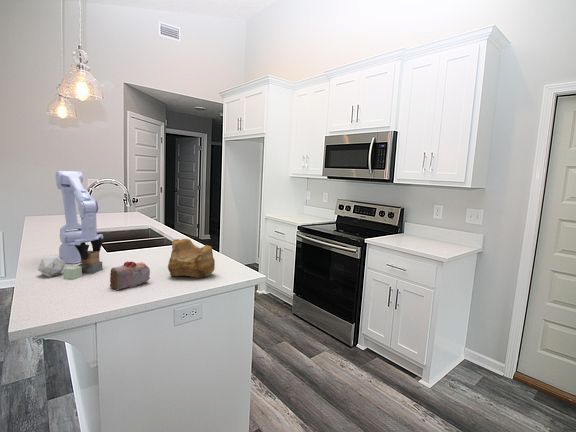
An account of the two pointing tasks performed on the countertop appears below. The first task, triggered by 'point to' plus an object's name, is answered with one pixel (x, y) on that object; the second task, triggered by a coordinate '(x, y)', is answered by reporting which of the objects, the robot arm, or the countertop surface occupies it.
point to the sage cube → (72, 272)
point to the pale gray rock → (51, 265)
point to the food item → (129, 275)
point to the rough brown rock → (190, 259)
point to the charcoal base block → (91, 268)
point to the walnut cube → (91, 258)
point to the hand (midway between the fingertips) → (90, 257)
